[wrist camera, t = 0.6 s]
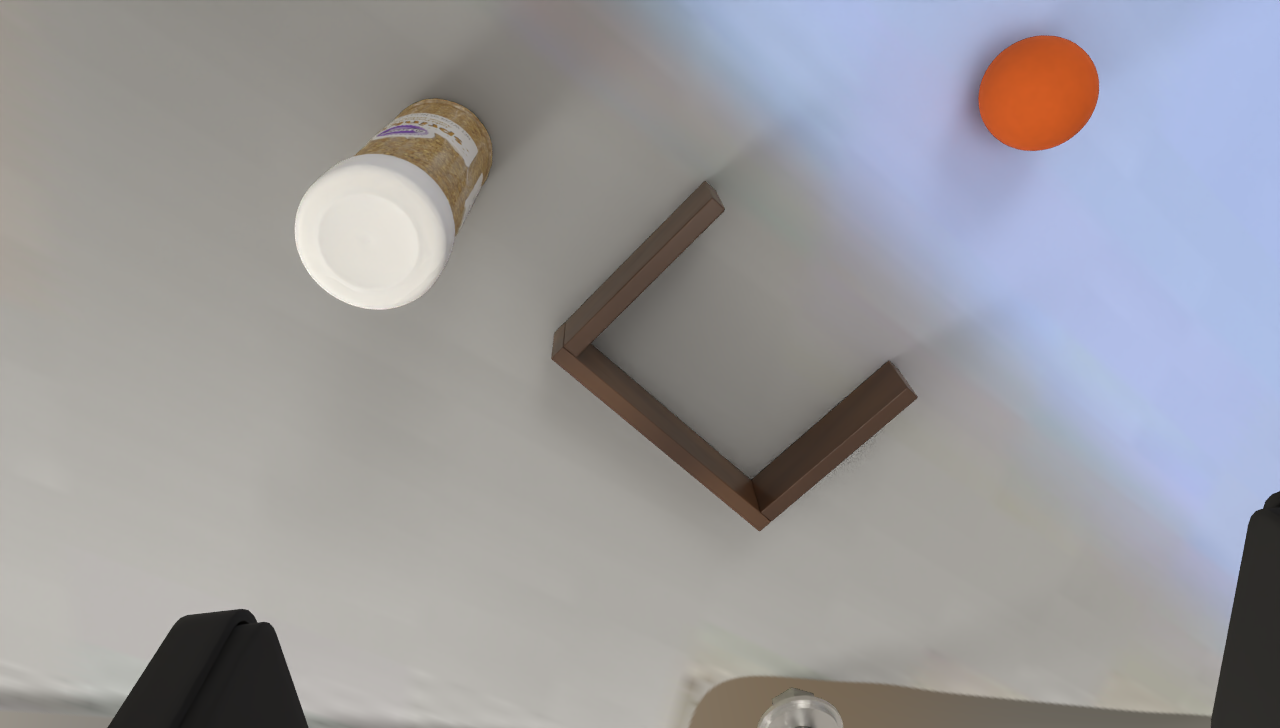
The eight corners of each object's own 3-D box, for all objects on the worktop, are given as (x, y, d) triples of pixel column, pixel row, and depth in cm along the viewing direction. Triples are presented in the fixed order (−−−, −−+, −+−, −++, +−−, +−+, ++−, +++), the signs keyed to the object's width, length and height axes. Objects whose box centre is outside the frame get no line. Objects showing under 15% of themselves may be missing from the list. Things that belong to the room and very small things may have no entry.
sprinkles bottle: (469, 82, 38) (408, 144, 26) (509, 184, 40) (470, 287, 28) (368, 117, 39) (262, 195, 27) (413, 217, 41) (332, 333, 28)
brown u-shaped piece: (553, 333, 43) (550, 359, 40) (704, 179, 40) (712, 196, 38) (750, 498, 47) (759, 532, 45) (899, 370, 45) (918, 397, 42)
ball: (941, 88, 39) (981, 104, 35) (1026, 7, 38) (1077, 14, 34) (1003, 160, 41) (1048, 184, 37) (1087, 84, 39) (1144, 100, 35)
